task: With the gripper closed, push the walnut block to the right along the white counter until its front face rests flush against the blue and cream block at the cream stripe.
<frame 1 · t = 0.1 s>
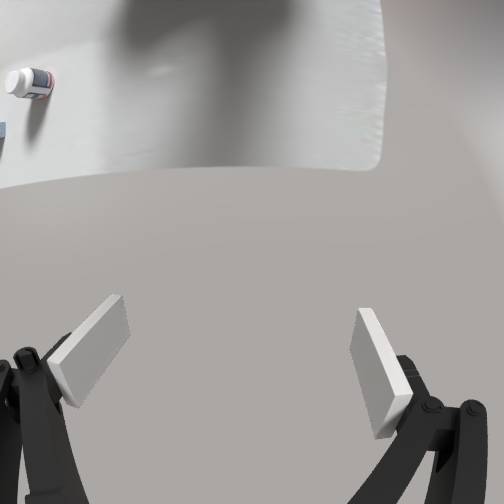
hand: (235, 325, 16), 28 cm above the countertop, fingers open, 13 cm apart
pill bottle: (45, 85, 37), on the countertop
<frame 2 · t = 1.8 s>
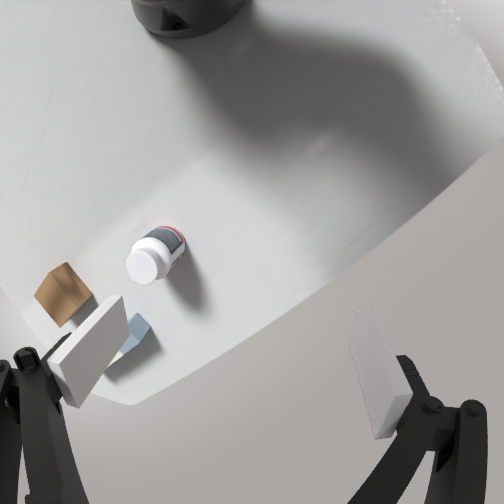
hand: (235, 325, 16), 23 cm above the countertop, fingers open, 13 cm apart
pill bottle: (167, 243, 40), on the countertop
blue and cream block: (117, 341, 46), on the countertop
walnut block: (70, 288, 44), on the countertop
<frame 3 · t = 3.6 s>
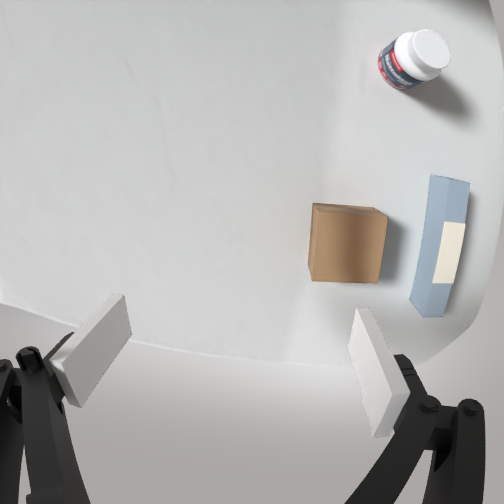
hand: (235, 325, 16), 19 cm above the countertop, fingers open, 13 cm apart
pill bottle: (396, 68, 26), on the countertop
blue and cream block: (431, 241, 32), on the countertop
walnut block: (340, 235, 33), on the countertop
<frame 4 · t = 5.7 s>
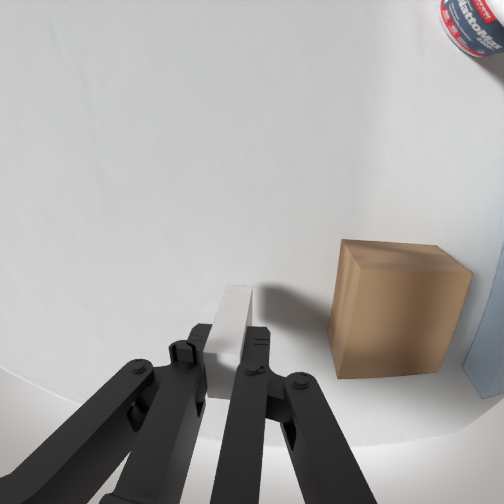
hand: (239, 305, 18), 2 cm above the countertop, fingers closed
pill bottle: (464, 27, 12), on the countertop
blue and cream block: (502, 289, 18), on the countertop
walnut block: (382, 290, 19), on the countertop
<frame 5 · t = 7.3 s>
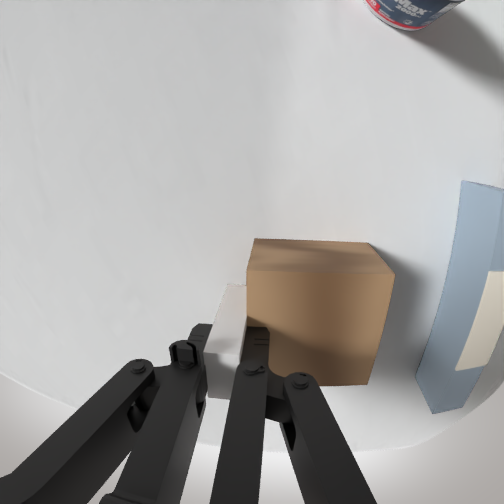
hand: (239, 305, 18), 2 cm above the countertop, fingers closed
pill bottle: (394, 0, 12), on the countertop
blue and cream block: (458, 291, 18), on the countertop
walnut block: (308, 292, 19), on the countertop, touching gripper
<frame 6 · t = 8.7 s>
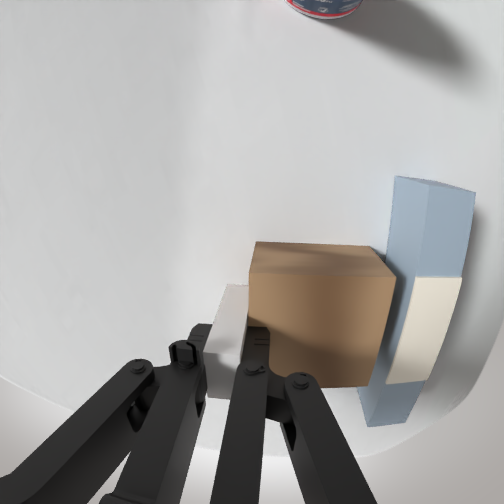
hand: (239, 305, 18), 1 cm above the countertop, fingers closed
blue and cream block: (398, 297, 19), on the countertop
walnut block: (309, 294, 19), on the countertop
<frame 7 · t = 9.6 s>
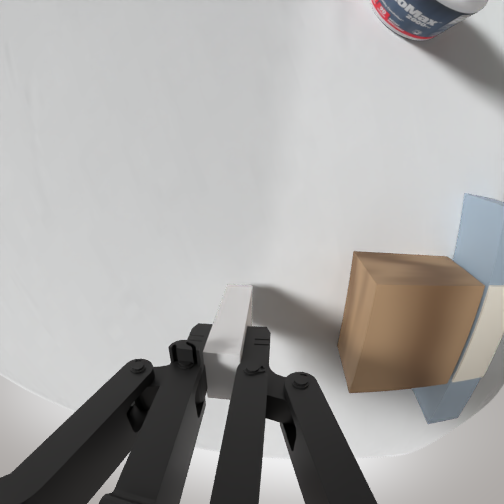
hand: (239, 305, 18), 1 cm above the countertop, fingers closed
pill bottle: (404, 9, 12), on the countertop
blue and cream block: (456, 303, 18), on the countertop
walnut block: (393, 301, 19), on the countertop
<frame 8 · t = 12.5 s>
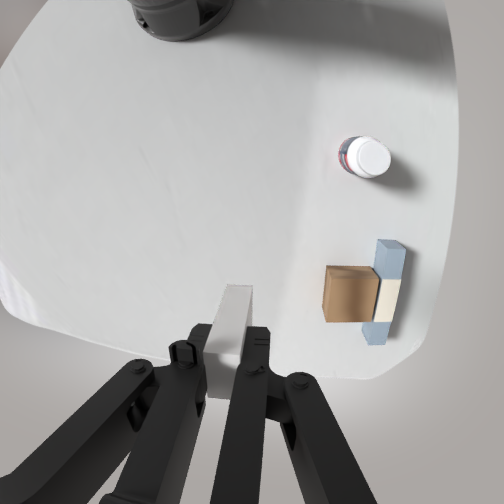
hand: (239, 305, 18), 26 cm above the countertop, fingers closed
pill bottle: (355, 155, 39), on the countertop
blue and cream block: (378, 287, 45), on the countertop
walnut block: (345, 286, 46), on the countertop
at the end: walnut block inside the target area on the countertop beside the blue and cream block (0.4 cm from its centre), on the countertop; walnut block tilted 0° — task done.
